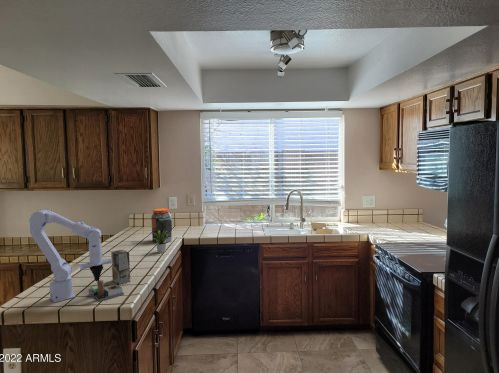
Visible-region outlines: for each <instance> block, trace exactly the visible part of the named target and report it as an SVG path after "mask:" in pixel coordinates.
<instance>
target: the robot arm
mask: <svg viewBox="0 0 499 373" xmlns="http://www.w3.org/2000/svg"><path fill="white" fill-rule="evenodd" d="M28 223H29V233H30V235H31V237H32V238H33V240H34V242H35V243H36V244H37V246H38V247H39V249H40V251H41V252H42V253H43V255H44V257H45V258H46V260H47V262H48V263H49V264H50V270H51V272H52V273H53V278H54V280H53V281H50V282H49V299H50V300H51V301H53V303H58V302H60V301H61V302H62V301H65V300H70V299H74V298H76V297H77V295H75V294H74V292H73V278H72V275H71V274H72V272H73V266H72V265H71V263H70V264H69V263H68V262H67V261H66V260H65V259H64V258H62V257H61V255H60V254H59V252H58V250H57V249H56V247H55V245H53V243H52V241H51V240H50V238H49V237H48V235H47V234H46V232H45V227H46V225H47V224H53V223H56V224H57V225H58V224H59V225H60V226H64V227H66V228H68V229H71V231H72V233H73V234H76V235H78V236H80V237H83V238H85V239H87V240H88V257H89V258H88V259H89V262H86V263H83V264H80V265H79V269H80V270H85V269H90V272H91V273H92V275H93V278H94V281H95V282H97V281H99V280H100V277H101V273H102V271H103V269H104V265H108V264H112V259H110V258H108V259H103V249H102V240H101V237H102V230H101V229H99V228H98V227H94V226H90V225H87V224H85V222H84V221H81V222H80V221H77V222H74V221H72V220H70V219H69V218H66V217H65V216H63V215H60V214H59V213H57V212H54V211H51V210H49V209H47V208H41V209H39V210H38V211H37V210H36V211H34V212H33V213H32V214H31V215H30V218H29V220H28Z"/></svg>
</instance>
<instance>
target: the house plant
mask: <svg viewBox="0 0 499 373" xmlns="http://www.w3.org/2000/svg"><path fill="white" fill-rule="evenodd" d="M164 231H165V230H164ZM164 231H163V233H162V235H161V232H159V231H158V232H157V233H158V234H155V233H154V234H155V235H156V236H157V238H158V240H157V239H156V238H151V239H152V240H153V239H156V242H157V241H158V242H159V243H155V245H156V251H157V253H159V254H163V253H166V249H167V242H164V241H165V240H167V239H170V238H169V237H168V238H167V237H166V236H168V235H166V236H164V235H165V234H166V232H167V231H166V232H165V233H164ZM168 234H170V232H169V233H168ZM171 235H172V236H173V233H172V234H171ZM165 237H166V238H167V239H165Z"/></svg>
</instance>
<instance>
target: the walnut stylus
mask: <svg viewBox="0 0 499 373" xmlns="http://www.w3.org/2000/svg"><path fill="white" fill-rule="evenodd" d="M96 283H97V284H96V286H97V287H98V297H99V298H101V297H104V287H105V285H104V284H105V282H104V280H102V279H101V280H100V279H99V281H96Z"/></svg>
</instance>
